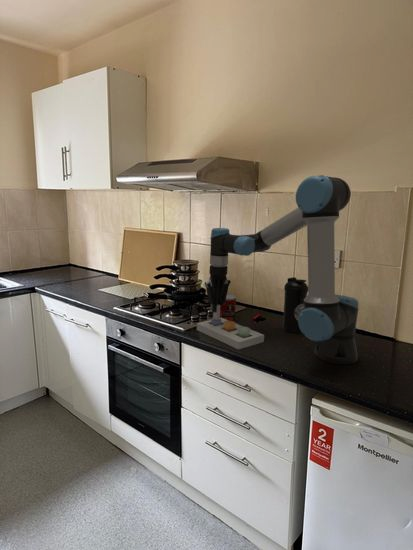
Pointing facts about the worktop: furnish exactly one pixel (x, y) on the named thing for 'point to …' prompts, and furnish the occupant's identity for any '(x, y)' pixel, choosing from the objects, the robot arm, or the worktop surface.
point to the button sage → (244, 332)
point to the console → (230, 334)
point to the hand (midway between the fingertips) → (216, 319)
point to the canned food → (228, 308)
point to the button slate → (215, 322)
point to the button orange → (229, 326)
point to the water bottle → (294, 303)
